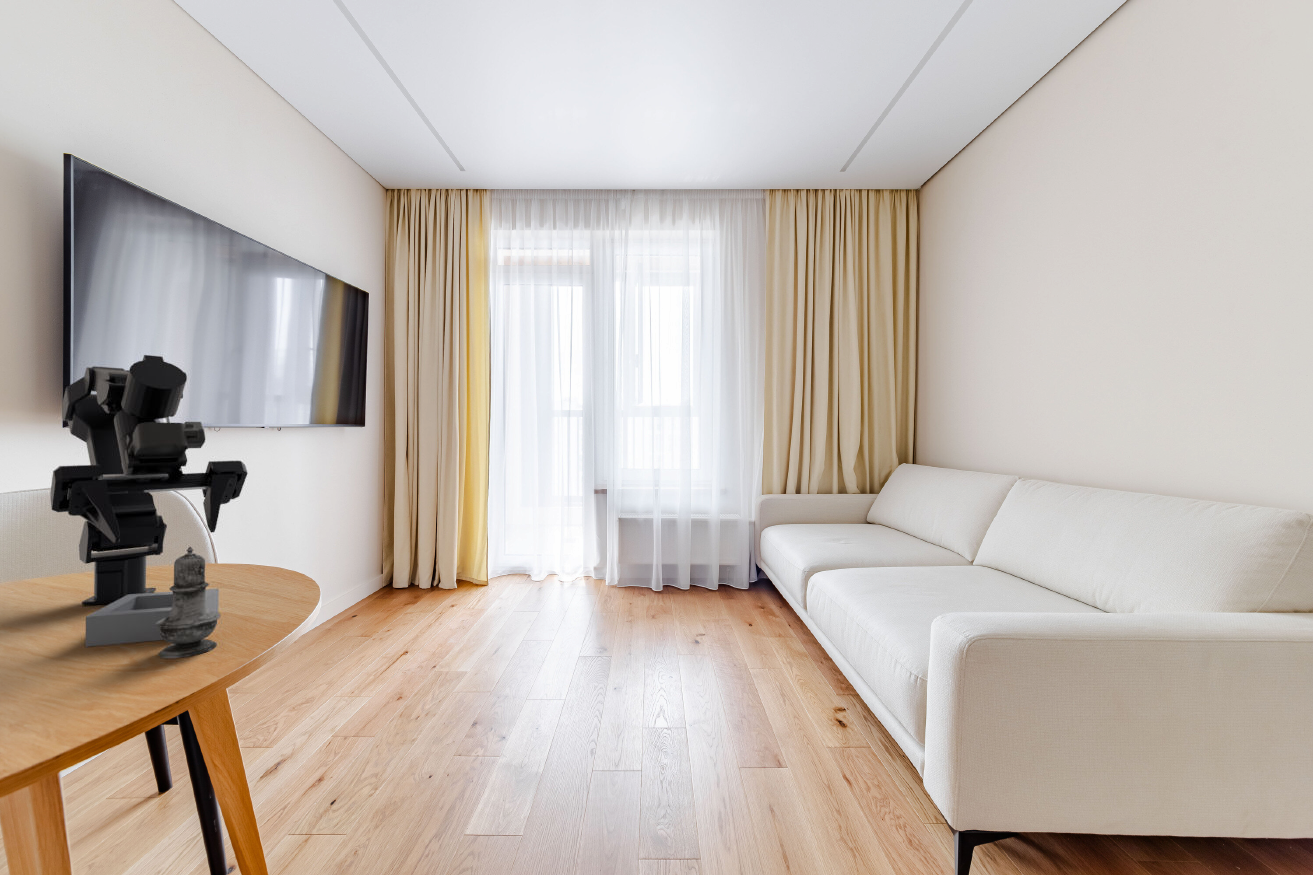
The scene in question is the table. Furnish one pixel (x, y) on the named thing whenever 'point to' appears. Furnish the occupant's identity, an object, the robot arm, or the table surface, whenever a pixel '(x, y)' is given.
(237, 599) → the table surface
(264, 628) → the table surface
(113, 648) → the table surface
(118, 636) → the socket block
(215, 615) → the salt shaker
